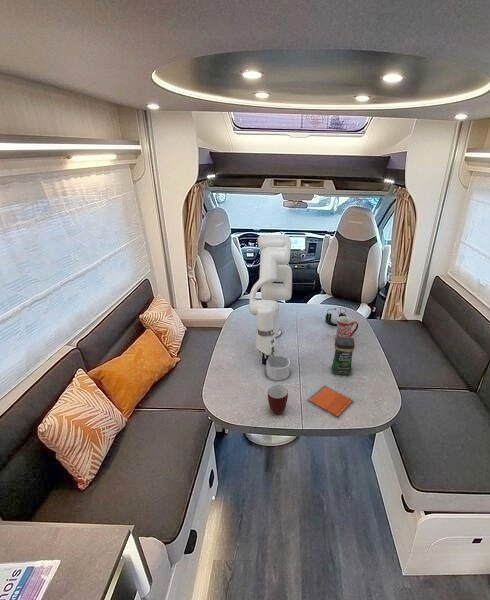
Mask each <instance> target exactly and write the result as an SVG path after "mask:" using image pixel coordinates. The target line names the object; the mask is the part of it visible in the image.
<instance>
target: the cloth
mask: <svg viewBox="0 0 490 600" xmlns="http://www.w3.org/2000/svg"><path fill="white" fill-rule="evenodd" d="M309 402H311V403H312V404H314V405H316V406H317V407H319V408H321V409H323V410H325V411H326V412H328V413H330V414H332V415H333V416H335V417H336V418H337V417H338V416H340V415H341V413H343V411H345V409H346V408H348V406H349V405H350V404H351V403H352V402H353V401H352V400H351V399H350V398H349V397H347V396H345V395H343V394H342V393H338V392H336V391H334V390H332V389H330V388H328V387H326V386H324V387H323V388H322V389H321V390H320V391H318V392H317V393H316V394H315V395H314V396H313V397H311V398H310V399H309Z"/></svg>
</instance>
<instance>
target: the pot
mask: <svg viewBox="0 0 490 600" xmlns="http://www.w3.org/2000/svg"><path fill="white" fill-rule="evenodd" d="M265 366H266V367H265V368H266V369H265V370H266V376H267V377H268V378H269V379H271V380H273V381H283V380H285V379H287V378H289V376H290V373H291V361H290V359H289V358H288V357H287V356H284V355H281V354H280V355H279V354H278V355H277V354H276V355H274V357H272V358H271V357H269V358H268V359H267V361H266V365H265Z"/></svg>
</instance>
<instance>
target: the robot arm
mask: <svg viewBox="0 0 490 600" xmlns="http://www.w3.org/2000/svg"><path fill="white" fill-rule="evenodd" d="M257 245H258V247H259V250H260V255H259V256H260V259H259V278H258V280H257V281H256V282H255V283H253V286H252V287H251V290H250V291H249V300H248V301H249V302H248V303H249V304H248V309H249V313H250V314H251V315H253V316H256V317H257V319H256V320H257V324H256V325H257V332H256V336H255V348H256V350H257V351H258V352H259V353H260V357H261V365H263V366H266V361H267V359H268V358H270V357H271V358H272V357H274V356H275V353H276V352H277V343H276V342H277V341H276V338H278V337H279V336H281V334H282V331H281V328H279V324H280V323H279V322H280V321H279V317H280V315H279V314H280V306H279V303H278V302H277V301H289V300H291V298H292V295H293V270H292V267H291V266H290V265H288V264H289V263H290V260H291V254H292V253H291V250H292V240H291V237H290V236H289V235H285V234H282V235H281V234H261V235H259V236H258V237H257ZM259 290H260V295H261V299H256V295H257V292H258V291H259Z"/></svg>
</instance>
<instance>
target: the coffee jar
mask: <svg viewBox="0 0 490 600" xmlns="http://www.w3.org/2000/svg"><path fill="white" fill-rule="evenodd" d="M355 343H356V342H355V339H354V337H350V338H348V337H337V336H336V337H335V341H334V356H333V359H332V363H331V371H332V373H334V374H335V375H341V376H348V375H351V373H352V368H353V367H352V364H353V363H352V362H353V352H354V351H355V349H356V348H355Z"/></svg>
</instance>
